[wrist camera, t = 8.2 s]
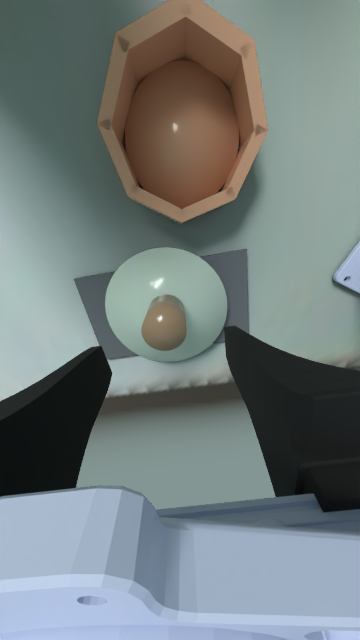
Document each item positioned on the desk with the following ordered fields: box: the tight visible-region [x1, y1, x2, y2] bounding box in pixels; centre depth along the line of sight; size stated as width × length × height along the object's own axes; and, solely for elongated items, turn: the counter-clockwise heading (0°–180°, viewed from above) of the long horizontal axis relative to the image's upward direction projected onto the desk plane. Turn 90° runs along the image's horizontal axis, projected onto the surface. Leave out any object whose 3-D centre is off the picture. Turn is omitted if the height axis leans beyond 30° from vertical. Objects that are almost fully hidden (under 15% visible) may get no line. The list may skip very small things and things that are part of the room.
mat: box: [74, 249, 249, 359], centre depth 17 cm, size 14×8×1 cm, turn 99°
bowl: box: [97, 0, 268, 224], centre depth 12 cm, size 8×8×3 cm
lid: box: [105, 247, 227, 362], centre depth 15 cm, size 10×10×4 cm
